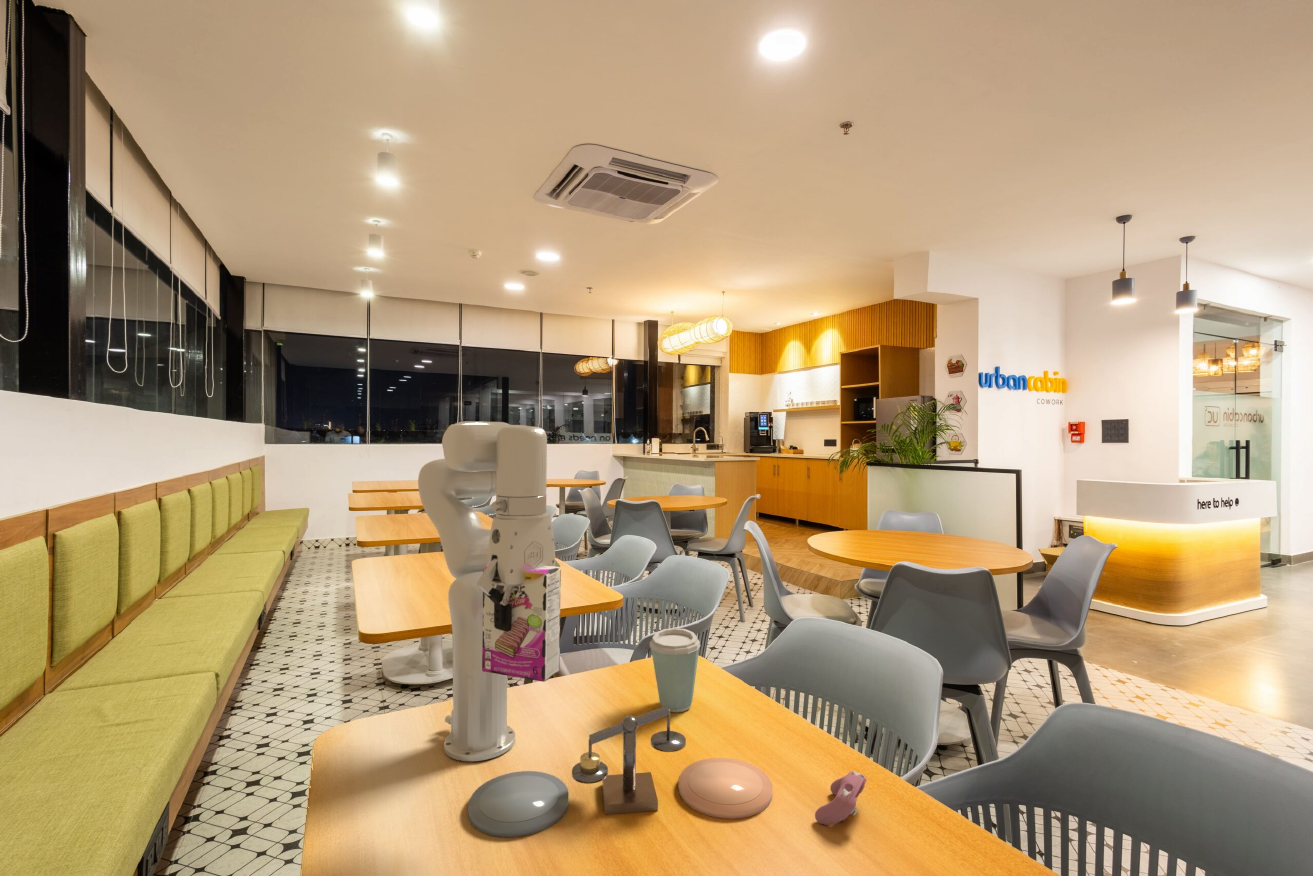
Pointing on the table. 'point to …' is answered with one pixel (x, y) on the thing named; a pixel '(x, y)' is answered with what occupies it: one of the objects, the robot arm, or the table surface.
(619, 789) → the balance
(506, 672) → the candy bar box
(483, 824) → the dish
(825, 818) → the pink curved piece
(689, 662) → the disposable coffee cup
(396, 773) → the table surface
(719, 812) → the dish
